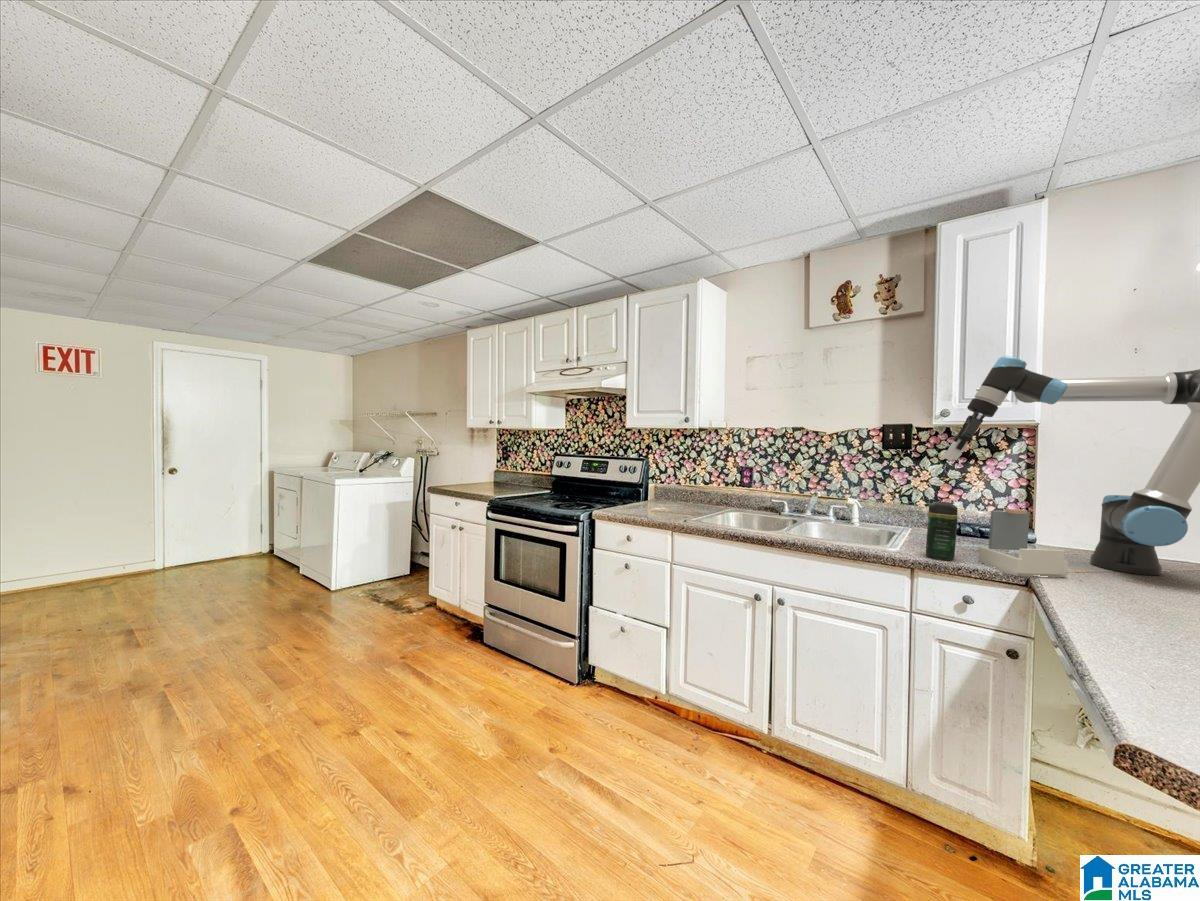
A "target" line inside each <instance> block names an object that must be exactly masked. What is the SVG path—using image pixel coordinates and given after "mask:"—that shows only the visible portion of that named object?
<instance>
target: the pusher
mask: <svg viewBox="0 0 1200 901" xmlns="http://www.w3.org/2000/svg"><path fill="white" fill-rule="evenodd" d="M1029 525H1030V512H1027V510H1025V509H1019V508H1005V509H1004V510H1003V511H1002V510H1001V511H1000V510H996V511H995V510H991V511H990V523H989V536H988V549H991V550H1000V551H1001V550H1002V551H1003V550H1004V551H1005V550H1006V551H1020V549H1028V541H1029V540H1028V539H1029V528H1030V527H1029Z"/></svg>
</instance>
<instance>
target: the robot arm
mask: <svg viewBox="0 0 1200 901" xmlns="http://www.w3.org/2000/svg"><path fill="white" fill-rule="evenodd" d="M1026 367H1027V362H1026V361H1025V360H1023V359H1021V358H1018V357H1015V356H1010V355H1004V356H1000V357H999V358H998V359H997V361H996V362H995V363H994V365H993V367H991V369H990V370H989V372H988V374H987V375H986V377H985V378H984V380H983V382H982V383H981V385H980V387H977V388H975V391H976V393H975V395H974V398H972V399H971V400H970V402H969V403H968V405H967V409H968V410H969V411H970V412H972V414H971V415H970V414H969V415H968V416H967V417H966V420H965V422H963V425H962V427H961V429H960V430H959V432H958V433H957V435H955V437H954V438H953V441H952V443H951V444H950V446H949V447H948V449H946V452H945V453H944V454H943V457H942V458H943V459H945V460H948V461H950V462H952V461H954V460H955V461H958V459H959V458H960V456H961V455H962V454H963V451H964V450H965V448H966V447H967V446H968V443H969V442H970V441H971V440H972V439H973V437H974V435H975V433H976V432H977V430H978V429H979V427H980V425H982V423H983V421H984V418H985V417H986V418H993V417H994V415H995V414H996V413H997V411H998V409H999V406H1001V405H1002V404H1003V402H1004V401H1005V399H1006V398H1007V396H1008V395H1009V392H1013V394H1014V396H1015V398H1016V399H1017V400H1018V401H1020V402H1022V403H1025V404H1026V403H1027V404H1028V403H1029V404H1030V403H1035V402H1036V403H1045V404H1048V405H1054V404H1056V403H1057V402H1063V403H1064V402H1149V401H1150V402H1161V403H1163V404H1164V405H1186V406H1187V407H1188V409H1190V413H1189V414H1188V416H1187V418H1186V419H1185V421H1184V423H1183V424H1182V425H1181V427H1180V429H1179V431H1178V432H1177V434H1176V435H1175V437H1174V439H1173V441H1172V442H1171V444H1170V446H1169V447H1168V449H1167V450H1166V452H1165V453H1164V455H1163V457H1162V458H1161V460H1160V462H1159V463H1158V465H1157V467H1156V469H1155V470H1154V472H1153V474H1152V475H1151V477H1150V478H1149V479H1148V482H1147V484H1146V485H1145V487H1143V488H1142V489H1139V490H1135V491H1133V492H1132V493H1131V495H1124V494H1123V495H1122V494H1121V495H1119V494H1107V495H1105V496H1104V497H1103V498H1102V503H1101V517H1100V530H1099V531H1100V532H1099V541H1098V543H1097V544H1096V546H1095V548H1094V552H1093V553H1092V554H1091V555H1090V559H1089V563H1090V564H1091V565H1093V566H1096V567H1099V568H1103V569H1107V570H1111V571H1116V572H1120V573H1126V574H1134V575H1145V576H1160V575H1162V569H1163V567H1162V565H1161V564H1160V561H1159V557H1158V554H1157V551H1156V548H1155V547H1166V546H1170V545H1174V544H1177V543H1178V542H1180V541H1181V540H1183V539H1184V537H1185V536H1186V534H1187V533H1188V530H1189V524H1188V522H1187V518H1188V516H1190V513H1191V512H1192V511H1193V508H1192V506H1191V504H1190V503H1189V500H1190V499H1191V497H1192V495H1193V494H1194V492H1195V491H1196V489H1197V488H1198V486H1199V484H1200V369H1199V368H1198V369H1194V370H1193V369H1192V370H1188V371H1180V372H1179V371H1175V372H1171V371H1170V372H1168V373H1166V374H1165V375H1156V376H1155V375H1154V376H1153V375H1151V376H1148V375H1147V376H1119V377H1113V376H1112V377H1085V378H1078V377H1077V378H1054V377H1051V376H1047V375H1044V374H1040V373H1037V372H1034V371H1032V370H1029V369H1026Z"/></svg>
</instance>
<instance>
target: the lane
mask: <svg viewBox="0 0 1200 901" xmlns="http://www.w3.org/2000/svg"><path fill="white" fill-rule="evenodd" d="M1018 551H1019V552H1018V553H1019V554H1018V555H1010V554H1006V553H1003V552H999V551H997V550H995V549H989V547H988V548H987V547H983V546H978V556H977V562H978V563H980V562H981V563H980V564H982V563H984V564H983V565H985V564H987V565H986V566H988V565H990V566H992V567H991V568H993V567H995V568H994V569H996V568H997V569H996V570H999V571H1001V572H1004V573H1007V574H1010V575H1012V576H1015V577H1020V578H1021V577H1022V578H1023V577H1024V578H1025V577H1028V578H1033V577H1032V576H1033V575H1040V576H1048V577H1065V578H1064V579H1067V578H1068V569H1069V568H1068V565H1069V561H1068V560H1066V558H1065V557H1066V550H1063V549H1044V548H1027V549H1020V550H1018ZM990 566H989V567H990ZM1048 577H1047V578H1048Z"/></svg>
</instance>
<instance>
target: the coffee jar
mask: <svg viewBox="0 0 1200 901" xmlns="http://www.w3.org/2000/svg"><path fill="white" fill-rule="evenodd" d="M958 511H959V510H958V507H957V506H956V505H954V504H953V503H952V502H949V501H941V500H938V501H934V502H932V503H930V504H929V505H928V514H927V515H928V516H927V517H928V518H927V530H926V541H925V542H926V545H925V555H926V556H927V557H929V558H935V559H936V560H940V561H943V560H948V561H952V560H954V559H955V553H956V540H957V530H958Z"/></svg>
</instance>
